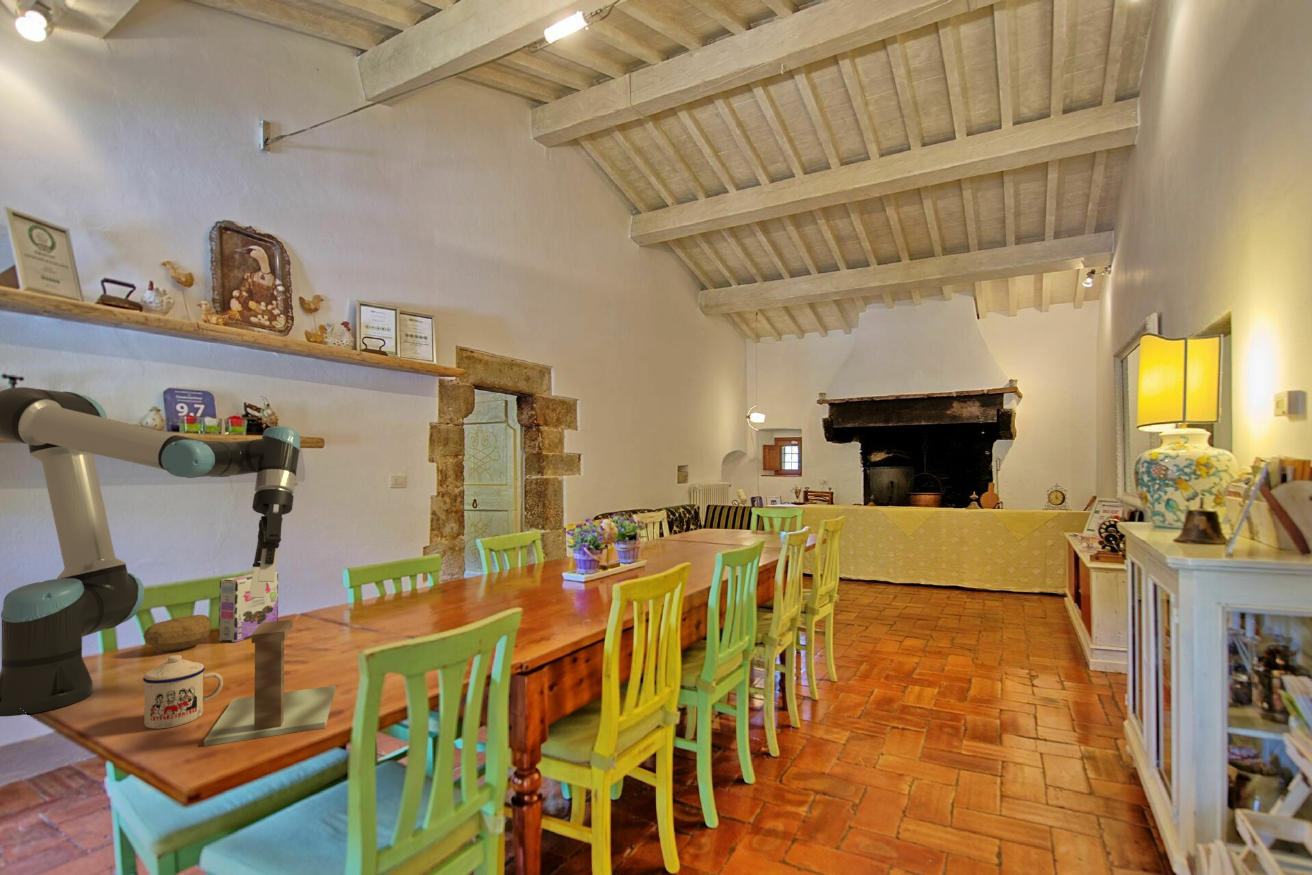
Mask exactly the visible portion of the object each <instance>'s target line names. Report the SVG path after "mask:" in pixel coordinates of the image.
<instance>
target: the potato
mask: <svg viewBox="0 0 1312 875" xmlns="http://www.w3.org/2000/svg"><path fill="white" fill-rule="evenodd" d="M211 623H212V621H211V618H210V617H209V616H207V615H205V614H196V615H188V616H179V617H178V616H177V617H174V618H171V619H168V620H163V621H159V622H155V623H154V624H152V625H151V626H148V627H147V628H146V630H145V631H144V634H143V640H144V641H145V643H146V644H147V645H150V646H151V647H152V648H154V649H156V650H159V651H160V652H166V653H167V652H177V651H182V650H186V649H189V648H190V647H193V646H196V645H198V644H199V643H201V642H203V641H204V640H206V639H207V637H208V636H209V634H210V632H211V629H212V625H211Z"/></svg>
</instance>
